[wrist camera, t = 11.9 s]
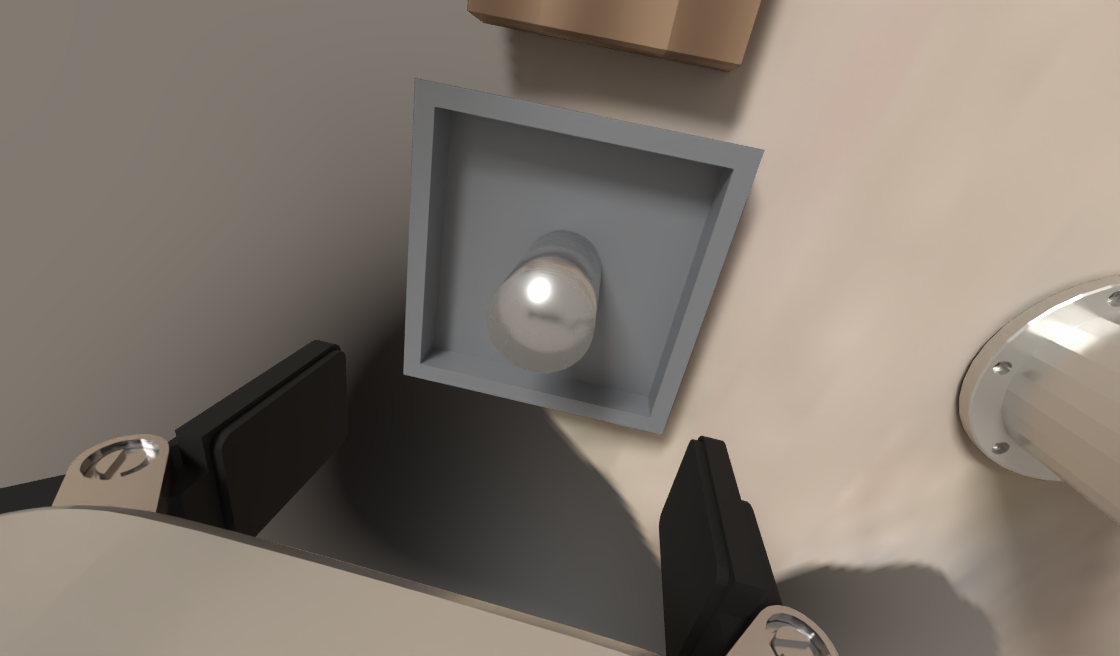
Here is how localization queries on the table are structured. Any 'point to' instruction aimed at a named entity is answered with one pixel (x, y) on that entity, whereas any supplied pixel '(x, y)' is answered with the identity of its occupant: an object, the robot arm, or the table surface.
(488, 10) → the pin block
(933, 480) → the table surface
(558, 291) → the pin
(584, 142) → the tray
